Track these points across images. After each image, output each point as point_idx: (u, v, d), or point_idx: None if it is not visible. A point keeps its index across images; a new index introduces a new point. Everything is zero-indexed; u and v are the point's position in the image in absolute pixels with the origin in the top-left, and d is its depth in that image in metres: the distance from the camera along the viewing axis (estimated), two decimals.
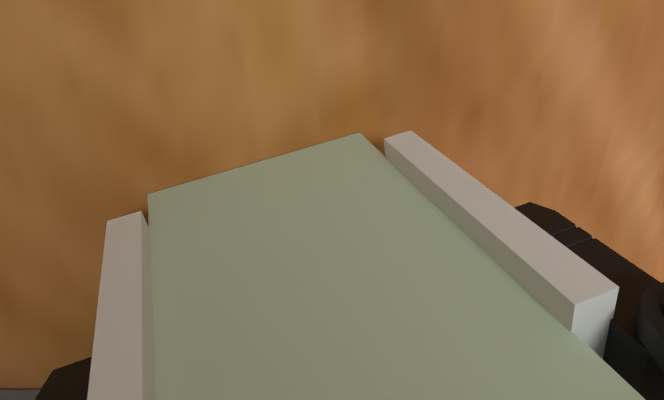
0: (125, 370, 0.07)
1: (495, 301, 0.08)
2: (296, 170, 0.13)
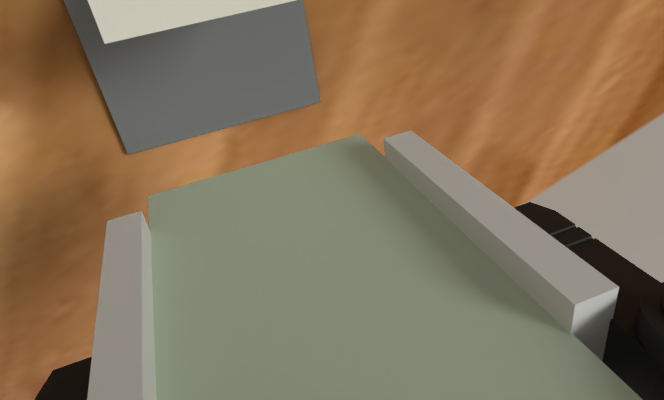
0: (125, 370, 0.07)
1: (496, 303, 0.08)
2: (296, 172, 0.13)
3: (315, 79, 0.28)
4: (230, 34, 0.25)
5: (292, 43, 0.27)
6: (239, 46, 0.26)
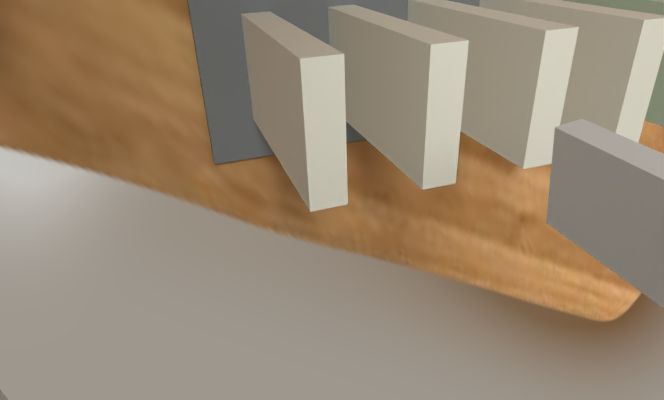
0: None
1: (640, 11, 0.26)
2: None
3: None
4: None
5: None
6: None
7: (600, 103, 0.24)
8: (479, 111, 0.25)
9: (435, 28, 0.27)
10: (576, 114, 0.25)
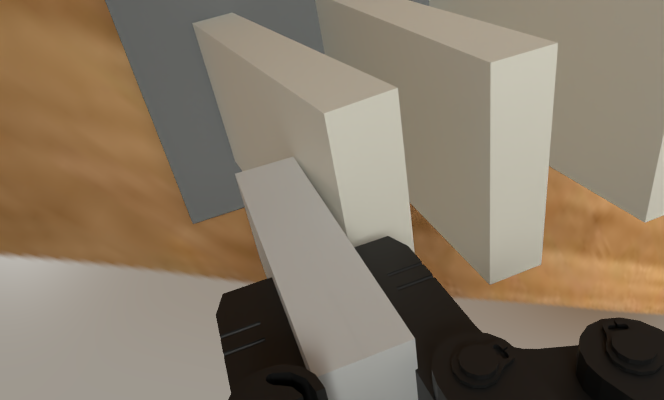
0: (310, 283, 0.08)
1: None
2: None
3: None
4: None
5: None
6: None
7: None
8: (556, 127, 0.16)
9: (472, 4, 0.18)
10: None
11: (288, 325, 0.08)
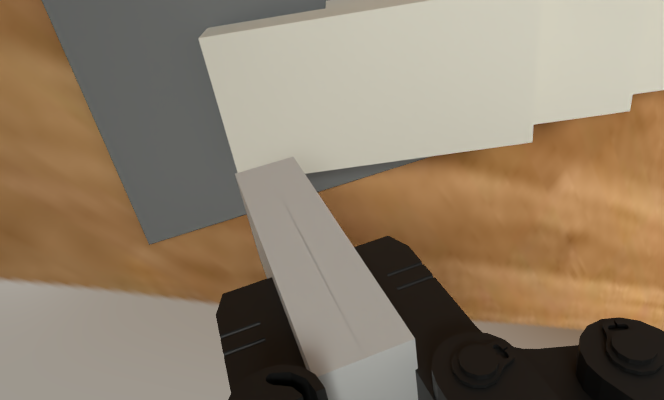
0: (310, 283, 0.08)
1: None
2: None
3: None
4: None
5: None
6: None
7: None
8: (642, 59, 0.21)
9: None
10: None
11: (288, 325, 0.08)
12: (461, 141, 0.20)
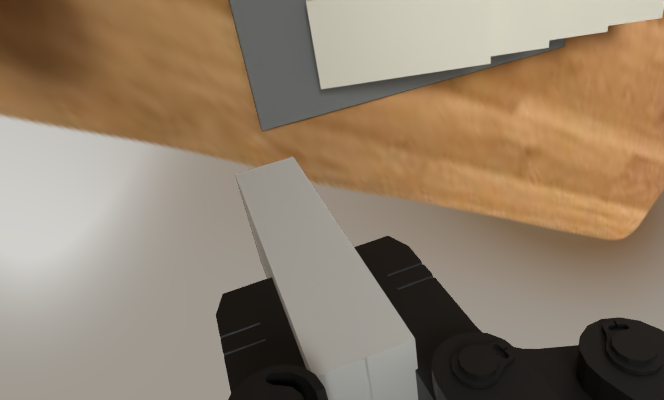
0: (310, 283, 0.08)
1: None
2: None
3: None
4: None
5: None
6: None
7: None
8: (557, 17, 0.36)
9: None
10: (629, 8, 0.37)
11: (288, 325, 0.08)
12: (449, 63, 0.34)
